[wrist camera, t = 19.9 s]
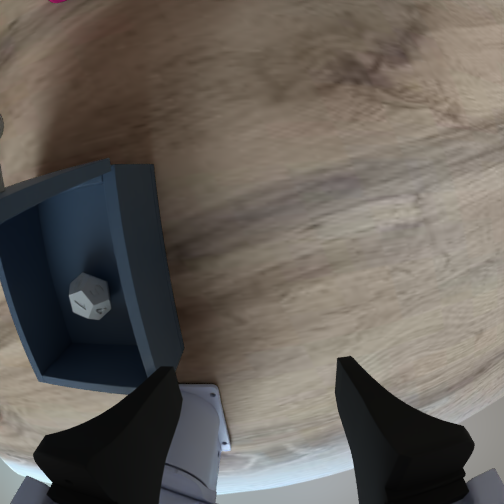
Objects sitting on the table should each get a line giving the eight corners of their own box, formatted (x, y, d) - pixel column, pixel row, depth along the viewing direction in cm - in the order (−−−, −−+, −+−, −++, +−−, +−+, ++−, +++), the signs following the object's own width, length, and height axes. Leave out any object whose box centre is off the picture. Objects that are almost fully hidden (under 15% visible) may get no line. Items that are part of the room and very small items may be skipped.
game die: (89, 258, 22) (68, 270, 19) (126, 286, 22) (109, 302, 19) (75, 291, 22) (56, 306, 19) (109, 317, 23) (93, 335, 20)
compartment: (184, 348, 24) (165, 397, 18) (72, 344, 25) (38, 381, 19) (153, 163, 20) (114, 164, 14) (34, 190, 21) (-16, 200, 15)
